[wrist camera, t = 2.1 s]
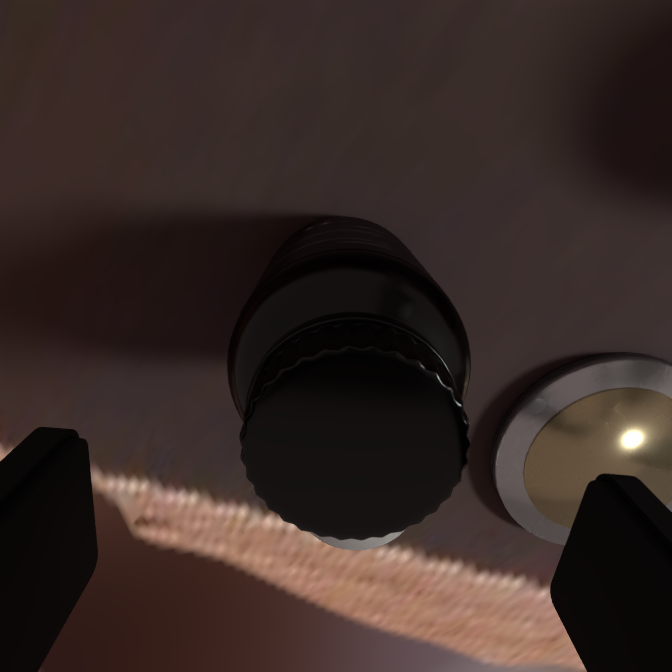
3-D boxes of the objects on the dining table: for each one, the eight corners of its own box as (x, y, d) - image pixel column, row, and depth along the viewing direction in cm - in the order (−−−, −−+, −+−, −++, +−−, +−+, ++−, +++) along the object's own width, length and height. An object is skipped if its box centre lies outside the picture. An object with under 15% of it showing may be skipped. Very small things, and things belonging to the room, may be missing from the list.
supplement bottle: (430, 345, 22) (533, 554, 10) (288, 373, 22) (241, 602, 11) (406, 194, 19) (508, 260, 8) (246, 231, 20) (131, 340, 8)
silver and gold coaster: (521, 341, 21) (531, 351, 20) (748, 364, 22) (770, 376, 21) (469, 524, 26) (476, 541, 24) (661, 540, 26) (676, 557, 25)
